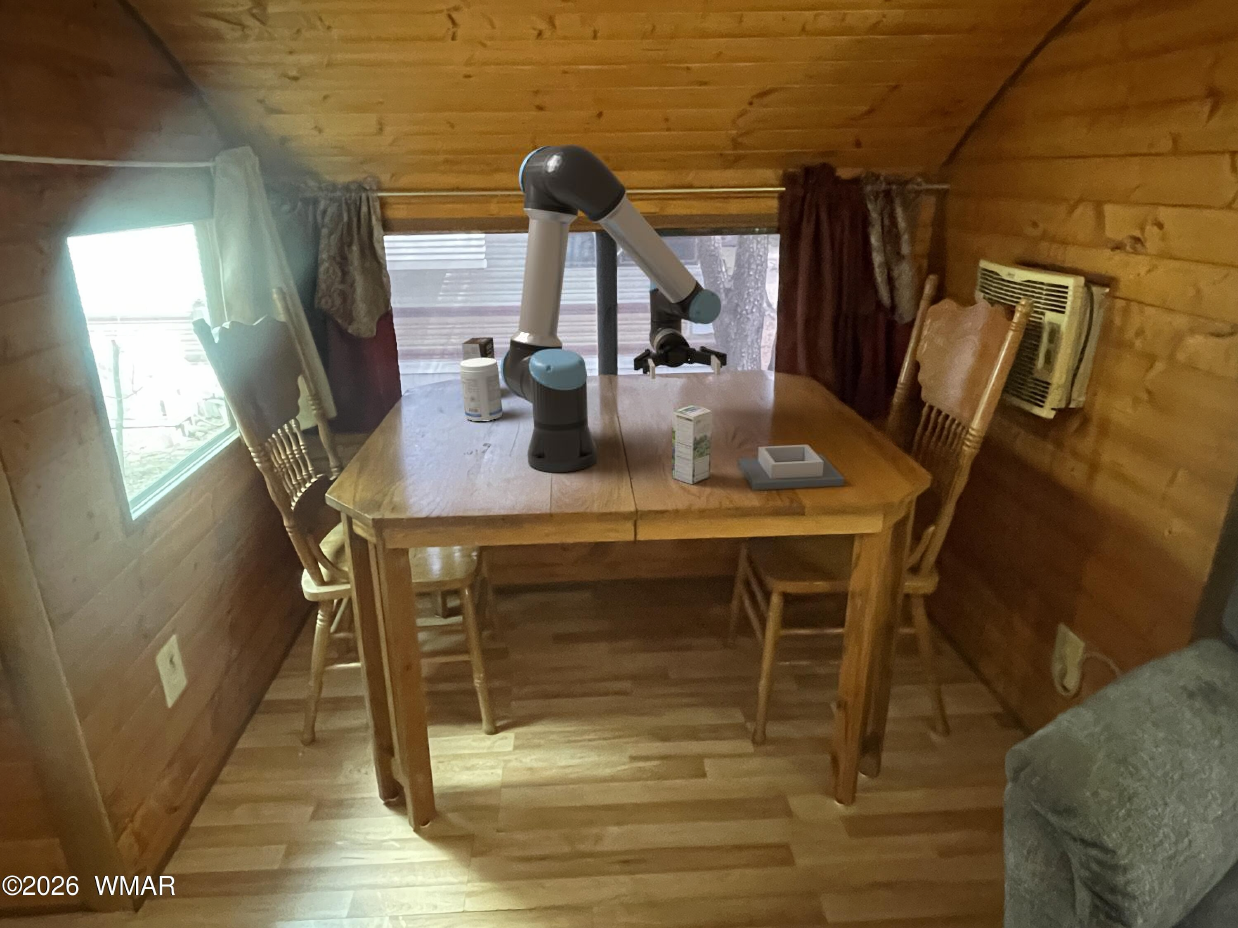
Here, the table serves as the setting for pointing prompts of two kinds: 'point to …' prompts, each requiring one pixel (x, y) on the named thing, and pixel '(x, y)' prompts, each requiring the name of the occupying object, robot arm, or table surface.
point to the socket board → (789, 468)
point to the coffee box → (478, 348)
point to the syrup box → (691, 444)
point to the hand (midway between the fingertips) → (686, 370)
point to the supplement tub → (481, 389)
